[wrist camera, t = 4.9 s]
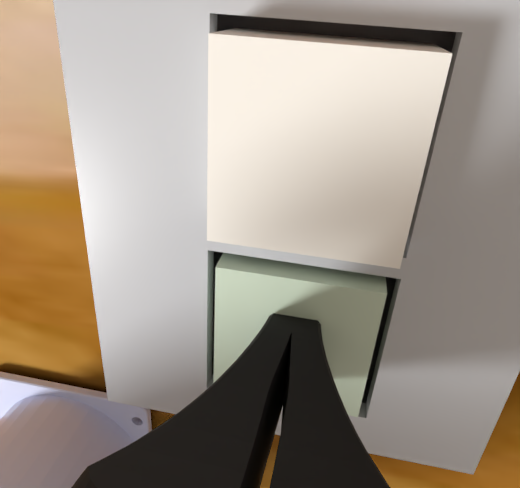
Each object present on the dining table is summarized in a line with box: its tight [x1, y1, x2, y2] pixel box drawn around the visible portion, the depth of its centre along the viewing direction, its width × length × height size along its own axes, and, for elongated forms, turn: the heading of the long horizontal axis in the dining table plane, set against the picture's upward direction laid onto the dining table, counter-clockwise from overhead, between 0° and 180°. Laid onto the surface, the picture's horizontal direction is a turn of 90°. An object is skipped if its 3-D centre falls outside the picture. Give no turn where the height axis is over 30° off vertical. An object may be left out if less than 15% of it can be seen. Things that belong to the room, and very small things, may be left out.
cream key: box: [207, 28, 453, 269], centre depth 10 cm, size 4×4×2 cm
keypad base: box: [53, 0, 520, 474], centre depth 12 cm, size 19×12×3 cm, turn 177°
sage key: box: [213, 253, 387, 417], centre depth 14 cm, size 4×4×2 cm
